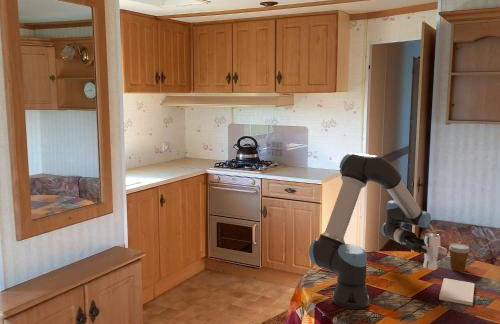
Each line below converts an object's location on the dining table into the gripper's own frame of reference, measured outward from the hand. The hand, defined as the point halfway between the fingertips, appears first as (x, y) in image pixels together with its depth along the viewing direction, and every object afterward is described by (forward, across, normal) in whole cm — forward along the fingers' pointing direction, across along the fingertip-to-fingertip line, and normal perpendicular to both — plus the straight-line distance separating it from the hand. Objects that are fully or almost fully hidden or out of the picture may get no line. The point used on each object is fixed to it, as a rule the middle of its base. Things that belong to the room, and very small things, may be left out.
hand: (439, 252), depth 207 cm
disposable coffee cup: (-18, -29, -18) cm, 39 cm away
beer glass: (-5, 0, -9) cm, 10 cm away
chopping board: (+4, -8, -18) cm, 20 cm away
